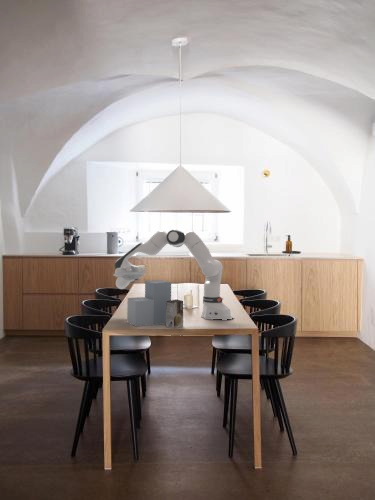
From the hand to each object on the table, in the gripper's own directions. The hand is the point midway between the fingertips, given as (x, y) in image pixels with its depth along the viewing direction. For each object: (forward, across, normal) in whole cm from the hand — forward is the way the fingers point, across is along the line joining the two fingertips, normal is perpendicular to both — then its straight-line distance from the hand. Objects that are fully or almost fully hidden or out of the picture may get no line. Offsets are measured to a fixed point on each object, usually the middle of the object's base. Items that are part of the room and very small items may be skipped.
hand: (133, 266), depth 317 cm
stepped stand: (-7, +6, +36) cm, 37 cm away
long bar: (+4, 0, +5) cm, 6 cm away
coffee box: (+8, +16, +45) cm, 49 cm away
